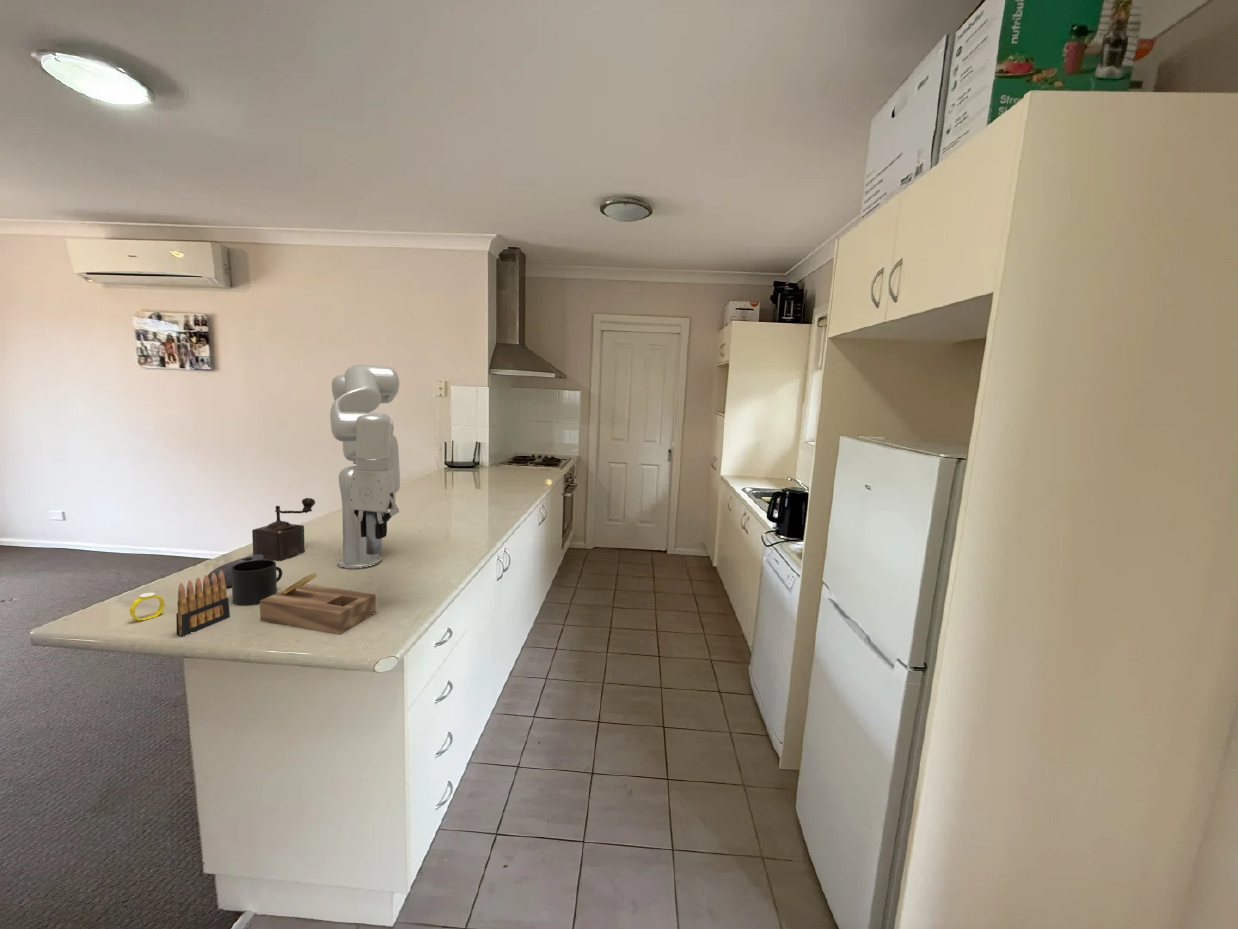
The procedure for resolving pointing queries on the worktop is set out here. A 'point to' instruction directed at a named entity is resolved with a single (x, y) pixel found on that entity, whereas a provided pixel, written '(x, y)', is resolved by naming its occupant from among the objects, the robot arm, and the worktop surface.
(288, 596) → the walnut block
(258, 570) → the mug
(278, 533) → the manual coffee grinder
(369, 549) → the steel pin
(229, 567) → the perforated stone tool
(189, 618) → the ammunition clip
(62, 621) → the worktop surface
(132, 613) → the yellow ring
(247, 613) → the worktop surface
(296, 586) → the bar
